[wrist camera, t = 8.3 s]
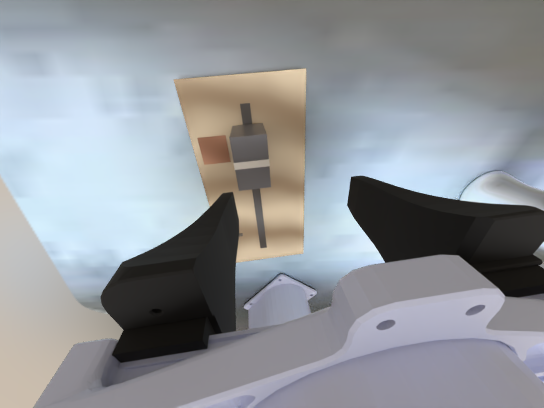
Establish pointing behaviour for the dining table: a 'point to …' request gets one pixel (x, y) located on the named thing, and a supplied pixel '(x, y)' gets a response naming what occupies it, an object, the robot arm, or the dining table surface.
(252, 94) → the fader board
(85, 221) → the dining table surface
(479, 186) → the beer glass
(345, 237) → the dining table surface
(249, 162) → the fader knob
